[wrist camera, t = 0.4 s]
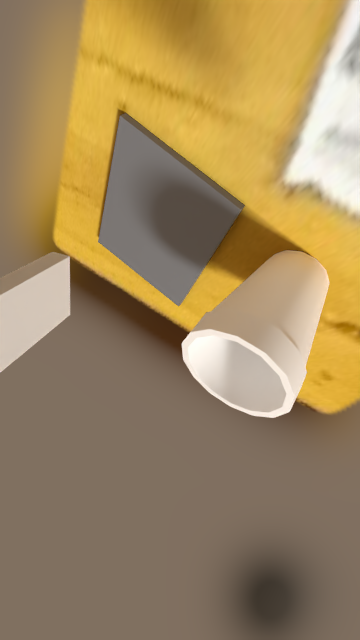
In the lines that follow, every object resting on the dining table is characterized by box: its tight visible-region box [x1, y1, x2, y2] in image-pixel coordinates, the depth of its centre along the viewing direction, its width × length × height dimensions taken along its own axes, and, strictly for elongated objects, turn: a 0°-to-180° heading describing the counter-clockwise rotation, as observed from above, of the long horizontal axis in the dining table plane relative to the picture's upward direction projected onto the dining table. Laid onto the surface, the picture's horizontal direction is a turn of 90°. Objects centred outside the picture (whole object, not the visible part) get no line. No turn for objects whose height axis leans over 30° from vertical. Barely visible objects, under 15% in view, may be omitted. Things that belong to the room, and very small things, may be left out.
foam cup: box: [182, 250, 329, 418], centre depth 30 cm, size 10×9×13 cm
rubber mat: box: [98, 113, 245, 306], centre depth 39 cm, size 18×14×1 cm
